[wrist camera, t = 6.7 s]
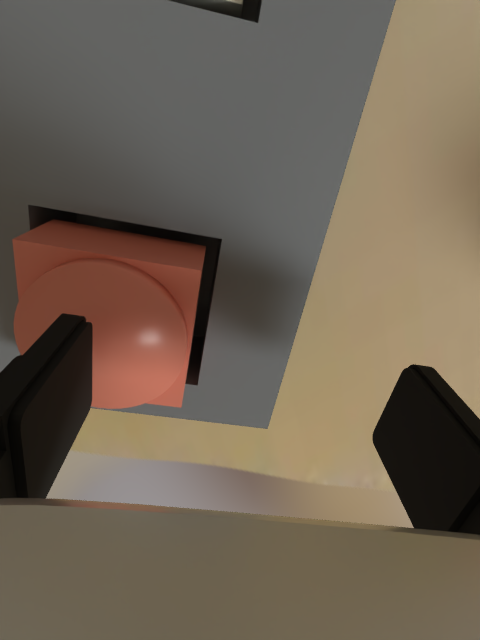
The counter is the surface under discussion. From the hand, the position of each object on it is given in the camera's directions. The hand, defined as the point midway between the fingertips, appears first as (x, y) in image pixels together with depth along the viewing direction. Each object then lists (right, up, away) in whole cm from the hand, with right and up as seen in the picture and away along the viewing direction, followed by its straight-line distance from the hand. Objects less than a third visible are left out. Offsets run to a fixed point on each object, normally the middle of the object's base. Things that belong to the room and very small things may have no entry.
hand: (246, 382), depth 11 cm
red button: (-4, +3, +3) cm, 6 cm away
